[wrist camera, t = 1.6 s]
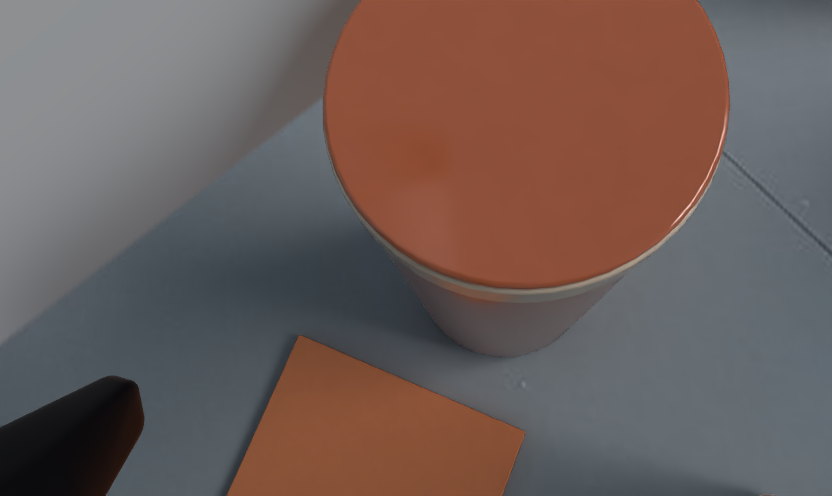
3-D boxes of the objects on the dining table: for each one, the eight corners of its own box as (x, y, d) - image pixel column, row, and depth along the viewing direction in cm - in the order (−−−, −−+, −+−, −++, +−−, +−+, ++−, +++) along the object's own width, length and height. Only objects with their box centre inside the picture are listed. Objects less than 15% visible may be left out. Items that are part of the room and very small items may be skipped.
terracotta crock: (554, 386, 20) (656, 361, 8) (391, 319, 21) (251, 202, 9) (613, 226, 21) (788, -27, 9) (455, 170, 22) (410, -127, 10)
